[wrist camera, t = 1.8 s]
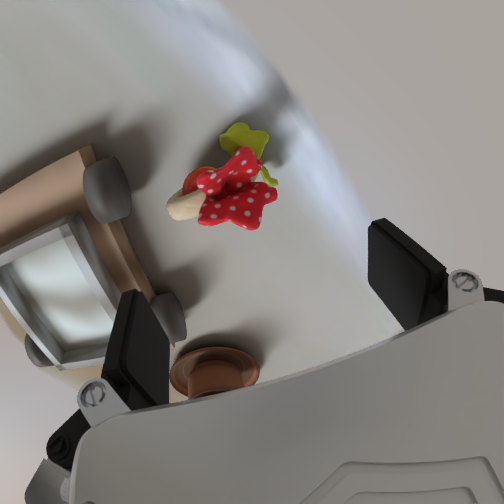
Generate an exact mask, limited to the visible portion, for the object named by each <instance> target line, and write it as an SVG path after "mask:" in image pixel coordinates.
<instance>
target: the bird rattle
mask: <svg viewBox="0 0 504 504" xmlns="http://www.w3.org/2000/svg"><path fill="white" fill-rule="evenodd" d="M269 139H270V137H269V135H268V133H266V132H264V131H261V130H251V129H250V128H249V126H248V125H247V124H246V123H243V122H237V123H235V124H233V125H232V126H231V127H230V128H229V129H228V130H227V132H226V133H223V134H220V137H219V140H220V145H221V148H222V149H223V150H224V151H226V152H228V153H229V154H231V155H233V156H232V157H231V158H230V159H229V161H228V162H227V163H226V164H225V165H224V166H223V167H220V168H218V169H216V168H213V167H200V168H198V169H196V170H194V171H192V172H191V173H190V174H189V175H188V176H187V178H186V179H185V181H184V184H183V188H182V189H180V190H179V191H178V192H176V193H175V194H174V195H173V196H172V197H171V198H170V199H169V200H168V202H167V205H166V208H167V210H168V212H169V214H170V216H171V217H172V218H173V219H175V220H186V219H190V218H194V217H196V216H198V223H199V224H201V225H205V226H213V225H217V224H220V223H223V222H225V221H230V222H233V223H235V224H236V225H238V226H240V227H243V228H245V229H248V230H255V229H258V227H259V226H260V222H261V217H262V210H263V207H264V205H265V204H268V203H271V202H273V201H275V200H277V190H276V188H274V187H272V186H276V185H278V181H277V180H276V179H272V178H271V177H270V176H269V173H268V170H267V169H266V168H265V167H264V166H262V163H261V161H260V158H261V155H262V153H263V150H264V147H265V145H266V144H267V143H268V141H269ZM258 172H260V173H261V174H262V177H263V180H264V182H265V183H264V182H254V181H255V179H256V177H257V175H258Z"/></svg>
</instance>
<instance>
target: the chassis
mask: <svg viewBox="0 0 504 504" xmlns="http://www.w3.org/2000/svg"><path fill="white" fill-rule="evenodd" d="M131 206H132V204H131V195H130V190H129V186H128V182H127V179H126V177H125V174H124V172H123V170H122V168H121V166H120V164H119V163H118V161H117V160H116V159H115V158H114V157H112V156H110V157H107V158H105V159H102V160H100V161H98V162H97V160H96V157H95V154H94V151H93V148H92V145H91V144H89V145H87V146H85V147H83V148H81V149H78V150H76V151H74V152H72V153H70V154H68V155H66V156H64V157H62V158H60V159H58V160H56V161H54V162H53V163H51V164H49V165H47V166H45V167H43V168H41V169H40V170H38V171H36V172H34V173H33V174H31V175H29V176H27V177H26V178H24V179H22V180H21V181H19V182H17V183H16V184H14V185H13V186H11V187H9V188H8V189H6V190H5V191H3V192H2V193H0V296H1V298H2V299H3V301H4V302H5V304H6V305H7V307H8V308H9V309H10V311H11V312H12V314H13V315H14V316H15V318H16V319H17V320H18V322H19V323H20V324H21V326H22V327H23V328H24V330H25V331H26V332H27V334H26V336H25V348H26V352H27V355H28V357H29V359H30V360H31V361H32V363H33V364H35V365H36V366H38V367H46V366H53V365H55V366H56V367H57V368H58V369H59V370H68V369H74V368H81V367H87V366H94V365H100V364H104V360H105V355H106V351H107V347H108V343H109V338H110V334H111V331H112V327H113V324H114V320H115V316H116V312H117V309H118V305H119V302H120V298H121V295H122V293H123V292H125V291H129V290H132V289H137V290H138V291H142V292H143V294H144V295H145V297H146V299H147V301H148V303H149V305H150V306H151V308H152V310H153V312H154V314H155V315H156V317H157V319H158V321H159V322H160V324H161V326H162V328H163V329H164V331H165V333H166V334H167V336H168V338H169V342H170V349H175V342H178V341H182V340H185V339H186V336H187V330H186V323H185V318H184V314H183V311H182V308H181V305H180V303H179V301H178V299H177V297H176V295H175V294H174V293H173V292H168V293H165V294H161V295H158V296H156V294H155V292H154V290H153V288H152V286H151V284H150V282H149V280H148V278H147V276H146V274H145V272H144V270H143V268H142V266H141V264H140V262H139V260H138V258H137V256H136V254H135V252H134V249H133V247H132V245H131V243H130V241H129V239H128V236H127V234H126V232H125V230H124V227H123V225H122V223H121V220H120V219H121V218H124V217H127V216H129V215H130V213H131Z"/></svg>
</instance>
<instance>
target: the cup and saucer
mask: <svg viewBox="0 0 504 504" xmlns="http://www.w3.org/2000/svg"><path fill="white" fill-rule="evenodd" d="M259 373H260V370H259V366H258V364H257V363H256V361H255V360H254V359H253V358H252V357H251V356H250V355H248V354H247V353H245V352H243V351H240V350H237V349H233V348H228V347H207V348H201V349H197V350H194V351H192V352H189V353H187V354H185V355H184V356H182V357H180V358H179V359H178V360H177V361H176V362H175V363H174V364H173V366H172V368H171V370H170V374H169V379H170V382H171V384H172V386H173V387H174V388H175V389H176V390H177V391H178V392H180V393H181V394H183V395H185V396H187V397H188V400H191V399H196V398H201V397H205V396H210V395H215V394H219V393H224V392H228V391H232V390H236V389H240V388H244V387H248V386H252V385H254V384H255V383H256V381H257V380H258V378H259Z"/></svg>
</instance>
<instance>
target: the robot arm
mask: <svg viewBox="0 0 504 504" xmlns="http://www.w3.org/2000/svg"><path fill="white" fill-rule="evenodd" d="M368 282H369V284H370V286H371V287H372V289H373V290H374V291H375V292H376V294H377V295H378V296H379V297H380V299H381V300H382V301H383V302H384V304H385V305H386V306H387V308H388V309H389V310H390V311H391V313H392V314H393V315H394V317H395V318H396V319H397V320H398V322H399V323H400V324H401V326H402V327H403V328H404V330H405V331H404V332H402V333H400V334H398V335H395V336H393V337H391V338H389V339H386V340H384V341H382V342H379V343H377V344H374V345H372V346H369V347H367V348H364V349H362V350H359V351H357V352H354V353H352V354H349V355H346V356H344V357H341V358H338V359H335V360H333V361H330V362H327V363H324V364H321V365H318V366H315V367H312V368H309V369H306V370H303V371H300V372H297V373H294V374H291V375H287V376H284V377H281V378H277V379H274V380H270V381H267V382H263V383H259V384H256V385H252V386H248V387H244V388H240V389H236V390H232V391H228V392H224V393H219V394H215V395H210V396H205V397H201V398H196V399H191V400H186V401H181V402H176V403H170V404H169V360H170V342H169V338H168V336H167V334H166V333H165V331H164V329H163V328H162V326H161V324H160V322H159V321H158V319H157V317H156V315H155V314H154V312H153V310H152V308H151V306H150V305H149V303H148V301H147V299H146V297H145V295H144V294H143V292H142V291H138V290H137V289H132V290H129V291H125V292H123V293H122V295H121V298H120V302H119V305H118V309H117V312H116V316H115V320H114V324H113V327H112V331H111V334H110V338H109V343H108V347H107V351H106V355H105V360H104V364H103V369H102V374H101V378H94V379H91V380H89V381H87V382H86V383H85V384H84V385H83V386H82V387H81V389H80V390H79V392H78V396H77V403H78V405H79V408H80V409H79V410H78V411H77V412H75V413H74V414H73V416H71V417H70V418H69V419H68V420H67V421H66V422H65V423H64V424H63V425H62V426H61V427H60V428H59V429H58V430H57V431H56V432H55V433H54V434H52V436H51V437H50V438H49V440H48V443H47V447H46V450H47V455H48V459H47V460H46V459H43V460H42V462H41V464H40V466H39V468H38V469H37V471H36V473H35V474H34V476H33V478H32V480H31V482H30V483H29V485H28V487H27V489H26V492H25V502H26V504H504V291H501V290H495V289H490V288H484V287H483V285H482V282H481V279H480V278H479V277H478V276H477V275H476V274H475V273H473V272H471V271H469V270H463V269H461V270H460V269H459V270H455V271H453V272H451V274H450V275H449V274H448V273H447V272H446V267H445V266H443V265H442V264H441V263H440V262H439V261H438V260H437V259H435V258H434V257H433V256H432V255H431V254H430V253H428V252H427V251H426V250H425V249H424V248H422V247H421V246H420V245H419V244H418V243H416V242H415V241H414V240H413V239H411V238H410V237H409V236H408V235H406V234H405V233H404V232H403V231H401V230H400V229H399V228H398V227H396V226H395V225H394V224H392V223H391V222H390V221H388V220H387V219H386V218H382V219H379V220H375V221H372V223H371V225H370V226H369V227H368Z"/></svg>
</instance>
